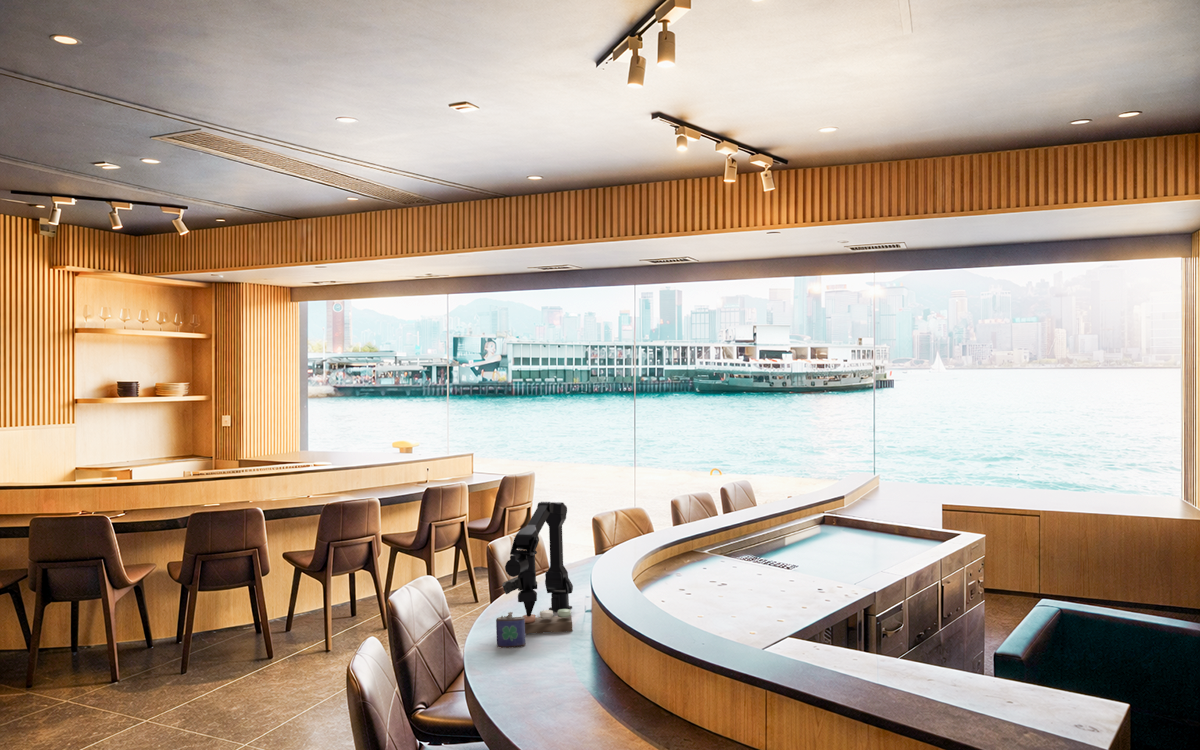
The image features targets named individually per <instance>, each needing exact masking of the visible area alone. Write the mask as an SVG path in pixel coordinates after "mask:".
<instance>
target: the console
mask: <svg viewBox="0 0 1200 750" xmlns="http://www.w3.org/2000/svg"><path fill="white" fill-rule="evenodd" d="M572 617H573V616H572V615H571V616H569V617H558V615H555V616H554V615H553V617H552V618H547V619H544V618H540V616H537V617H536V616H535V622H532V623H525V635H530V634H529V633H536V634H544V633H543V632H551V633H562V632H564V633H566V631H567V632H573V618H572Z"/></svg>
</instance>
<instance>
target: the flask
mask: <svg viewBox="0 0 1200 750" xmlns="http://www.w3.org/2000/svg"><path fill="white" fill-rule="evenodd" d="M513 613H514V612H513V611H510V612H509V611H508V612H507V614H508V615H504V616H503V615H501V616H500V617H499V616H498V617H496V619H495V623H496V624H495V629H496V647H497V648H498V647H501V648H502V649H504V648H503V647H506V649H510V648H512V647H513V648H521V647H525V646H526V634H525V618H524V617H522V616H514V617H513ZM509 647H510V648H509ZM501 648H500V649H501Z"/></svg>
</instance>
